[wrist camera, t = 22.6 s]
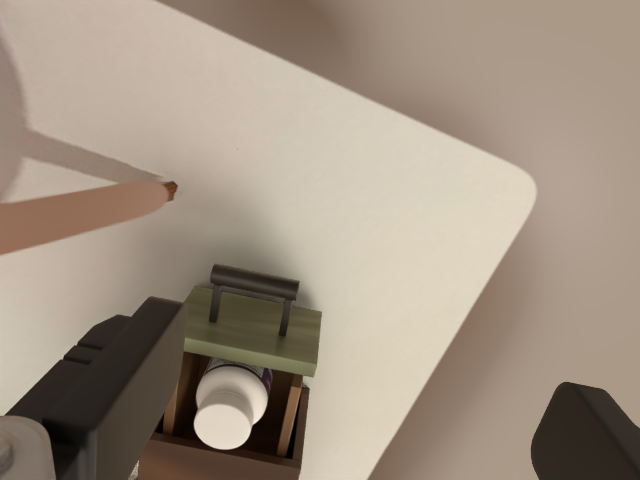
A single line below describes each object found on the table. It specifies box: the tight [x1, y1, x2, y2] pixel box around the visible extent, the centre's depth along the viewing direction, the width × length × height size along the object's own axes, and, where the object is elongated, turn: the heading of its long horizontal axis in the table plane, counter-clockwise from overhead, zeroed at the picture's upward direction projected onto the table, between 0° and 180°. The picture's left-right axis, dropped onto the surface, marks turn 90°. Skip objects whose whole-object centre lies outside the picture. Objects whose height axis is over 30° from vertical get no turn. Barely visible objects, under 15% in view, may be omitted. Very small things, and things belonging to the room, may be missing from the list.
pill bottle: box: [194, 357, 275, 449], centre depth 36 cm, size 5×5×10 cm
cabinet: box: [137, 387, 310, 480], centre depth 42 cm, size 15×13×10 cm
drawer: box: [162, 264, 322, 458], centre depth 38 cm, size 18×11×8 cm, turn 168°
